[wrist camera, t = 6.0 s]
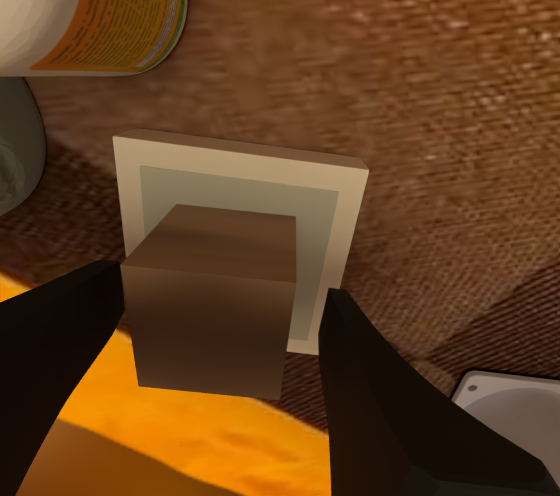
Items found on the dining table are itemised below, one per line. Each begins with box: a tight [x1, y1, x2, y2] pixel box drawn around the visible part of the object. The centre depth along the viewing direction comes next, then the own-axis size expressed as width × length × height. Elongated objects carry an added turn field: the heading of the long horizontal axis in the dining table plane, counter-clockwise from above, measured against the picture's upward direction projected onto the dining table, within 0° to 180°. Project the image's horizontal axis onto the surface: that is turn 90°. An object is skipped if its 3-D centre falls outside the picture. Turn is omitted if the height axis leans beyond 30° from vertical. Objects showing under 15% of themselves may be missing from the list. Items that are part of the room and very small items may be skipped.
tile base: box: [113, 128, 369, 355], centre depth 14 cm, size 9×9×2 cm
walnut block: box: [120, 204, 296, 400], centre depth 11 cm, size 4×4×4 cm
